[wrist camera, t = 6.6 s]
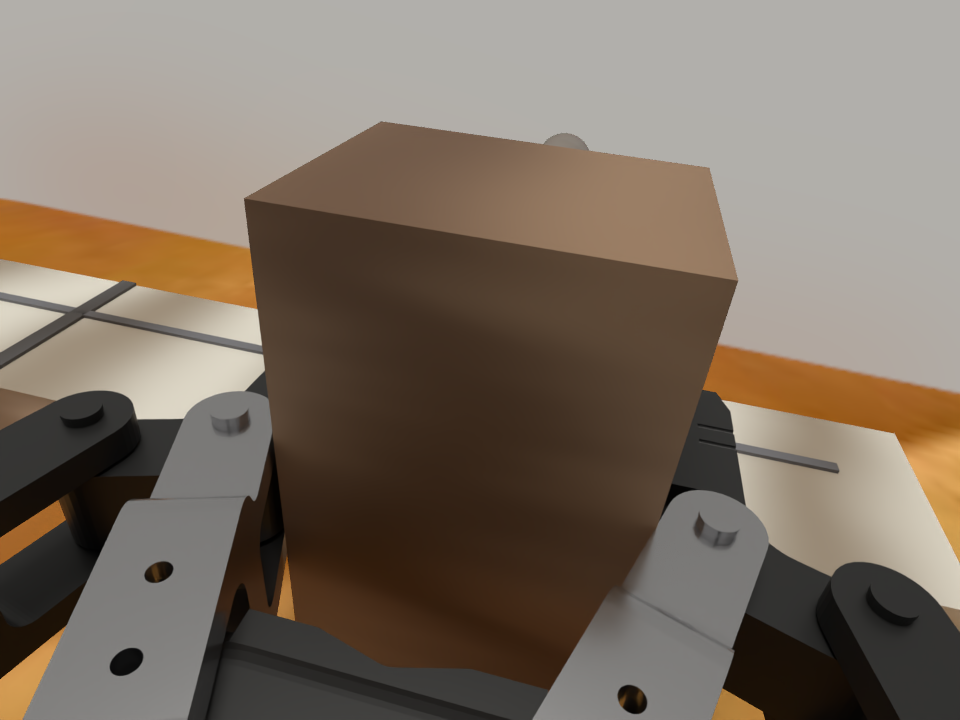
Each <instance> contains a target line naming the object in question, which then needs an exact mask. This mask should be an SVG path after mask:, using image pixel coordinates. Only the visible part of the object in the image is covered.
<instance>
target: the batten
mask: <svg viewBox="0 0 960 720" xmlns="http://www.w3.org/2000/svg"><path fill="white" fill-rule="evenodd" d="M264 371H265V367H264V358H263V350H262V342H261V334H260V326H259V317H258V309H253V308H248V307H243V306H238V305H233V304H227V303H222V302H217V301H212V300H207V299H202V298H197V297H192V296H186V295H181V294H176V293H171V292H166V291H161V290H156V289H151V288H145V287H140V286H136V283H133V282H128V281H123V280H122V281H121V282H115V281H110V280H104V279H99V278H94V277H89V276H84V275H79V274H74V273H69V272H64V271H58V270H53V269H48V268H43V267H38V266H33V265H28V264H23V263H17V262H12V261H7V260H2V259H0V430H1V429H3V428H5V427H7V426H9V425H11V424H13V423H14V422H16V421H18V420H20V419H22V418H24V417H26V416H28V415H30V414H32V413H34V412H36V411H37V410H39V409H41V408H43V407H45V406H47V405H49V404H51V403H53V402H55V401H57V400H59V399H61V398H64V397H67V396H69V395H73V394H77V393H81V392H86V391H97V390H104V391H113V392H118V393H121V394H123V395H125V396H127V397H128V398H129V399H130V400H131V401H132V403H133V405H134V409H135V413H136V417H137V419H184V417H185V415H186V414H187V412H188V411H189V410H190V409H191V408H192V407H193V406H194V405H195V404H197V403H198V402H200V401H202V400H204V399H206V398H208V397H210V396H213V395H216V394H220V393H225V392H231V391H245V390H246V389H247V388H248V387H249V386H250V385H251V384H252V383H253V382H254V381H255V380H256V379H257V378H258V377H259V376H260V375H261V374H262V373H263V372H264ZM722 401H723V402H724V404H725V405H726V406H727V408H728V409H729V410H730V412H731V418H732V424H733V430H734V431H733V434H734V436H735V442H736V450H737V454H738V461H739V467H740V473H741V479H742V485H743V491H744V497H745V503H746V507H748V508H749V509H750V510H751V511H752V512H753V513H754V514H755V515H756V516H757V517H758V518H759V519H760V520H761V522H762V523H763V525H764V527H765V528H766V530H767V534H768V537H769V543H770V544H771V545H772V546H774V547H775V548H776V549H778V550H779V551H781V552H782V553H784V554H785V555H787V556H789V557H791V558H793V559H795V560H797V561H799V562H801V563H803V564H805V565H807V566H810V567H812V568H814V569H816V570H818V571H820V572H822V573H825V574H827V575H829V576H831V577H832V575H833V574H834V572H835V570H836V569H838V568H839V567H840V566H842V565H844V564H846V563H851V562H869V563H874V564H878V565H882V566H885V567H888V568H890V569H893V570H895V571H897V572H899V573H901V574H903V575H905V576H907V577H908V578H910V579H912V580H913V581H914V582H916V583H917V584H919V585H920V586H921V587H923V588H924V589H925V590H926V591H927V592H929V593H930V594H931V595H932V596H933V597H934V598H935V599H936V600H937V602H938V603H939V604H940V605H941V607H942V608H943V609H944V611H945V612H946V613H947V615H948V616H949V618H950V619H951V621H952V622H953V623H954V625H955V626H956V628H957V629H958V630H959V632H960V563H959V561H958V559H957V557H956V555H955V553H954V551H953V549H952V547H951V545H950V543H949V541H948V539H947V537H946V535H945V533H944V531H943V529H942V527H941V525H940V523H939V521H938V519H937V517H936V515H935V513H934V511H933V509H932V507H931V505H930V503H929V501H928V499H927V497H926V496H925V494H924V492H923V490H922V488H921V486H920V484H919V482H918V480H917V478H916V476H915V474H914V472H913V470H912V468H911V466H910V464H909V462H908V460H907V458H906V456H905V454H904V452H903V450H902V448H901V446H900V444H899V442H898V440H897V438H896V436H895V434H893V433H888V432H883V431H878V430H873V429H868V428H863V427H857V426H852V425H847V424H842V423H837V422H832V421H827V420H822V419H816V418H811V417H806V416H801V415H796V414H791V413H786V412H781V411H776V410H770V409H765V408H760V407H755V406H750V405H745V404H740V403H735V402H729V401H724V400H722Z"/></svg>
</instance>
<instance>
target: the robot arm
mask: <svg viewBox="0 0 960 720" xmlns="http://www.w3.org/2000/svg"><path fill="white" fill-rule="evenodd" d="M733 431H734V430H733V424H732V418H731V412H730V410H729V409H728V408H727V406H726V405H725V404H724V402H723V401H722V400H721V398H720V397H719V396H718V395H717V393H716V392H710V391H705V390H702V392H701V395H700V398H699V401H698V404H697V407H696V410H695V413H694V417H693V420H692V423H691V426H690V429H689V432H688V435H687V438H686V441H685V444H684V447H683V450H682V453H681V456H680V459H679V462H678V465H677V468H676V471H675V474H674V477H673V480H672V483H671V486H670V490H669V493H668V496H667V499H666V502H665V505H664V508H663V511H662V514H661V517H660V520H659V523H658V526H657V527H656V528H655V530H654V531H653V533H652V535H651V536H650V538H649V540H648V542H647V543H646V545H645V547H644V548H643V550H642V552H641V554H640V555H639V557H638V559H637V560H636V562H635V564H634V566H633V567H632V569H631V571H630V572H629V574H628V576H627V578H626V579H625V581H624V583H623V584H622V586H621V587H620V586H618V585H615V586H613V588H612V589H611V590H610V591H609V593H608V594H607V596H606V598H605V599H604V601H603V602H602V604H601V606H600V607H599V609H598V611H597V612H596V614H595V616H594V617H593V619H592V621H591V622H590V624H589V626H588V627H587V629H586V631H585V632H584V634H583V636H582V637H581V639H580V641H579V642H578V644H577V646H576V647H575V649H574V651H573V652H572V654H571V656H570V657H569V659H568V661H567V662H566V664H565V666H564V667H563V669H562V671H561V672H560V674H559V676H558V677H557V679H556V681H555V682H554V684H553V686H552V687H551V689H550V691H549V692H548V690H547V689H543V688H539V687H536V686H532V685H528V684H525V683H521V682H517V681H513V680H510V679H506V678H502V677H499V676H495V675H491V674H488V673H484V672H480V671H477V670H473V669H454V668H400V667H388V666H384V665H382V664H380V663H378V662H376V661H374V660H373V659H371V658H369V657H368V656H366V655H364V654H362V653H361V652H359V651H357V650H356V649H354V648H352V647H351V646H349V645H347V644H346V643H344V642H342V641H341V640H339V639H337V638H336V637H334V636H332V635H330V634H329V633H327V632H325V631H324V630H322V629H320V628H319V627H315V626H311V625H308V624H304V623H300V622H297V621H293V620H289V619H286V618H282V617H278V616H277V612H278V606H279V600H280V594H281V587H282V581H283V575H284V569H285V563H286V557H287V547H286V539H285V531H284V523H283V515H282V506H281V498H280V490H279V482H278V473H277V465H276V457H275V449H274V441H273V432H272V424H271V416H270V408H269V400H268V391H267V383H266V375H265V371H264V372H263V373H262V374H261V375H260V376H259V377H258V378H257V379H256V380H255V381H254V382H253V383H252V384H251V385H250V386H249V387H248V388H247V389H246V390H245V391H231V392H225V393H220V394H216V395H213V396H210V397H208V398H206V399H204V400H202V401H200V402H198V403H197V404H195V405H194V406H193V407H192V408H191V409H190V410H189V411H188V412H187V414H186V415H185V417H184V419H137V417H136V413H135V409H134V405H133V403H132V401H131V400H130V399H129V398H128V397H127V396H125V395H123V394H121V393H118V392H113V391H104V390H97V391H86V392H81V393H77V394H73V395H69V396H67V397H64V398H61V399H59V400H57V401H55V402H53V403H51V404H49V405H47V406H45V407H43V408H41V409H39V410H37V411H36V412H34V413H32V414H30V415H28V416H26V417H24V418H22V419H20V420H18V421H16V422H14V423H13V424H11V425H9V426H7V427H5V428H3V429H1V430H0V537H2V536H3V535H5V534H6V533H8V532H9V531H11V530H12V529H14V528H15V527H17V526H19V525H20V524H22V523H23V522H25V521H26V520H28V519H29V518H31V517H32V516H34V515H36V514H37V513H39V512H40V511H42V510H43V509H45V508H46V507H48V506H49V505H51V504H52V503H54V502H56V501H57V500H59V503H60V505H61V508H62V510H63V513H64V516H65V518H66V521H64V522H63V523H61V524H60V525H58V526H57V527H55V528H54V529H52V530H51V531H49V532H48V533H46V534H45V535H44V536H42V537H41V538H39V539H38V540H36V541H35V542H33V543H32V544H30V545H29V546H27V547H26V548H24V549H23V550H22V551H20V552H19V553H17V554H16V555H14V556H13V557H11V558H10V559H8V560H7V561H5V562H4V563H2V564H1V565H0V679H1V678H2V677H3V676H5V675H6V674H7V673H8V672H10V671H11V670H12V669H13V668H14V667H16V666H17V665H18V664H19V663H21V662H22V661H23V660H24V659H25V658H27V657H28V656H29V655H30V654H32V653H33V652H34V651H35V650H37V649H38V648H39V647H40V646H41V645H43V644H44V643H45V642H46V641H48V640H49V639H50V638H51V637H52V636H54V635H55V634H56V633H57V632H59V631H60V630H61V629H62V628H64V627H65V626H66V625H67V626H66V628H65V630H64V632H63V634H62V636H61V639H60V641H59V643H58V645H57V647H56V649H55V651H54V654H53V656H52V658H51V660H50V662H49V664H48V666H47V669H46V671H45V673H44V675H43V677H42V679H41V681H40V684H39V686H38V688H37V690H36V692H35V694H34V696H33V699H32V701H31V703H30V705H29V707H28V709H27V711H26V714H25V716H24V718H23V720H711V719H712V716H713V713H714V710H715V707H716V704H717V702H718V699H719V696H720V693H721V690H722V688H723V689H725V690H727V691H728V692H730V693H732V694H734V695H735V696H737V697H739V698H741V699H742V700H744V701H746V702H748V703H749V704H751V705H753V706H754V707H756V708H758V709H760V710H761V711H763V713H764V717H765V720H960V632H959V630H958V629H957V628H956V626H955V625H954V623H953V622H952V621H951V619H950V618H949V616H948V615H947V613H946V612H945V611H944V609H943V608H942V607H941V605H940V604H939V603H938V602H937V600H936V599H935V598H934V597H933V596H932V595H931V594H930V593H929V592H927V591H926V590H925V589H924V588H923V587H921V586H920V585H919V584H917V583H916V582H914V581H913V580H912V579H910V578H908V577H907V576H905V575H903V574H901V573H899V572H897V571H895V570H893V569H890V568H888V567H885V566H882V565H878V564H874V563H869V562H851V563H846V564H844V565H842V566H840V567H839V568H838V569H836V570H835V572H834V574H833V575H832V577H831V576H829V575H827V574H825V573H822V572H820V571H818V570H816V569H814V568H812V567H810V566H807V565H805V564H803V563H801V562H799V561H797V560H795V559H793V558H791V557H789V556H787V555H785V554H784V553H782V552H781V551H779V550H778V549H776V548H775V547H774V546H772V545H771V544H770V543H769V537H768V534H767V530H766V528H765V527H764V525H763V523H762V522H761V520H760V519H759V518H758V517H757V516H756V515H755V514H754V513H753V512H752V511H751V510H750V509H749V508H748V507H746V503H745V497H744V491H743V485H742V479H741V473H740V467H739V461H738V454H737V450H736V442H735V436H734V434H733ZM547 693H548V694H547Z"/></svg>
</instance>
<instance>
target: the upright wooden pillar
mask: <svg viewBox="0 0 960 720" xmlns="http://www.w3.org/2000/svg"><path fill="white" fill-rule="evenodd" d="M244 201H245V210H246V218H247V227H248V235H249V243H250V252H251V260H252V268H253V276H254V285H255V293H256V301H257V309H258V317H259V326H260V334H261V342H262V350H263V358H264V367H265V375H266V383H267V391H268V400H269V408H270V416H271V424H272V432H273V441H274V449H275V457H276V465H277V473H278V482H279V490H280V498H281V506H282V515H283V523H284V531H285V539H286V547H287V556H288V564H289V572H290V580H291V589H292V597H293V605H294V613H295V621H297V622H300V623H304V624H308V625H311V626H315V627H319V628H320V629H322V630H324V631H325V632H327V633H329V634H330V635H332V636H334V637H336V638H337V639H339V640H341V641H342V642H344V643H346V644H347V645H349V646H351V647H352V648H354V649H356V650H357V651H359V652H361V653H362V654H364V655H366V656H368V657H369V658H371V659H373V660H374V661H376V662H378V663H380V664H382V665H384V666H388V667H400V668H454V669H473V670H477V671H480V672H484V673H488V674H491V675H495V676H499V677H502V678H506V679H510V680H513V681H517V682H521V683H525V684H528V685H532V686H536V687H539V688H543V689H547V690H548V692H549V691H550V689H551V687H552V686H553V684H554V682H555V681H556V679H557V677H558V676H559V674H560V672H561V671H562V669H563V667H564V666H565V664H566V662H567V661H568V659H569V657H570V656H571V654H572V652H573V651H574V649H575V647H576V646H577V644H578V642H579V641H580V639H581V637H582V636H583V634H584V632H585V631H586V629H587V627H588V626H589V624H590V622H591V621H592V619H593V617H594V616H595V614H596V612H597V611H598V609H599V607H600V606H601V604H602V602H603V601H604V599H605V598H606V596H607V594H608V593H609V591H610V590H611V589H612V588H613V586H615V585H618V586H620V587H621V586H622V584H623V583H624V581H625V579H626V578H627V576H628V574H629V572H630V571H631V569H632V567H633V566H634V564H635V562H636V560H637V559H638V557H639V555H640V554H641V552H642V550H643V548H644V547H645V545H646V543H647V542H648V540H649V538H650V536H651V535H652V533H653V531H654V530H655V528H656V527H657V526H658V523H659V520H660V517H661V514H662V511H663V508H664V505H665V502H666V499H667V496H668V493H669V490H670V486H671V483H672V480H673V477H674V474H675V471H676V468H677V465H678V462H679V459H680V456H681V453H682V450H683V447H684V444H685V441H686V438H687V435H688V432H689V429H690V426H691V423H692V420H693V417H694V413H695V410H696V407H697V404H698V401H699V398H700V395H701V392H702V389H703V386H704V383H705V380H706V377H707V374H708V371H709V368H710V365H711V362H712V359H713V356H714V353H715V350H716V347H717V343H718V340H719V337H720V334H721V331H722V328H723V325H724V322H725V319H726V316H727V313H728V310H729V307H730V304H731V301H732V297H733V295H734V292H735V289H736V286H737V283H738V278H737V275H736V270H735V267H734V263H733V259H732V255H731V251H730V247H729V243H728V239H727V235H726V232H725V228H724V224H723V220H722V216H721V212H720V208H719V204H718V201H717V196H716V192H715V189H714V185H713V181H712V177H711V173H710V169H709V168H707V167H700V166H692V165H685V164H678V163H672V162H664V161H657V160H650V159H643V158H636V157H628V156H622V155H615V154H608V153H601V152H593V151H589V149H588V147H587V145H586V144H585V143H584V141H582V140H581V139H580V138H579V137H577V136H575V135H572V134H568V133H561V134H557V135H555V136H552V137H550V138H549V139H548V140H547V141H545V143H544V144H537V143H530V142H523V141H516V140H508V139H501V138H494V137H487V136H480V135H473V134H466V133H459V132H451V131H445V130H438V129H431V128H424V127H417V126H410V125H402V124H395V123H388V122H380V123H378V124H376V125H374V126H373V127H371V128H369V129H367V130H365V131H364V132H362V133H360V134H358V135H356V136H355V137H353V138H351V139H349V140H347V141H346V142H344V143H342V144H340V145H339V146H337V147H335V148H333V149H331V150H330V151H328V152H326V153H324V154H322V155H321V156H319V157H317V158H315V159H314V160H312V161H310V162H308V163H307V164H305V165H303V166H301V167H299V168H298V169H296V170H294V171H292V172H290V173H289V174H287V175H285V176H283V177H281V178H280V179H278V180H276V181H274V182H273V183H271V184H269V185H267V186H265V187H264V188H262V189H260V190H258V191H257V192H255V193H253V194H251V195H249V196H248V197H246V198H244ZM547 694H548V693H547Z"/></svg>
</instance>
